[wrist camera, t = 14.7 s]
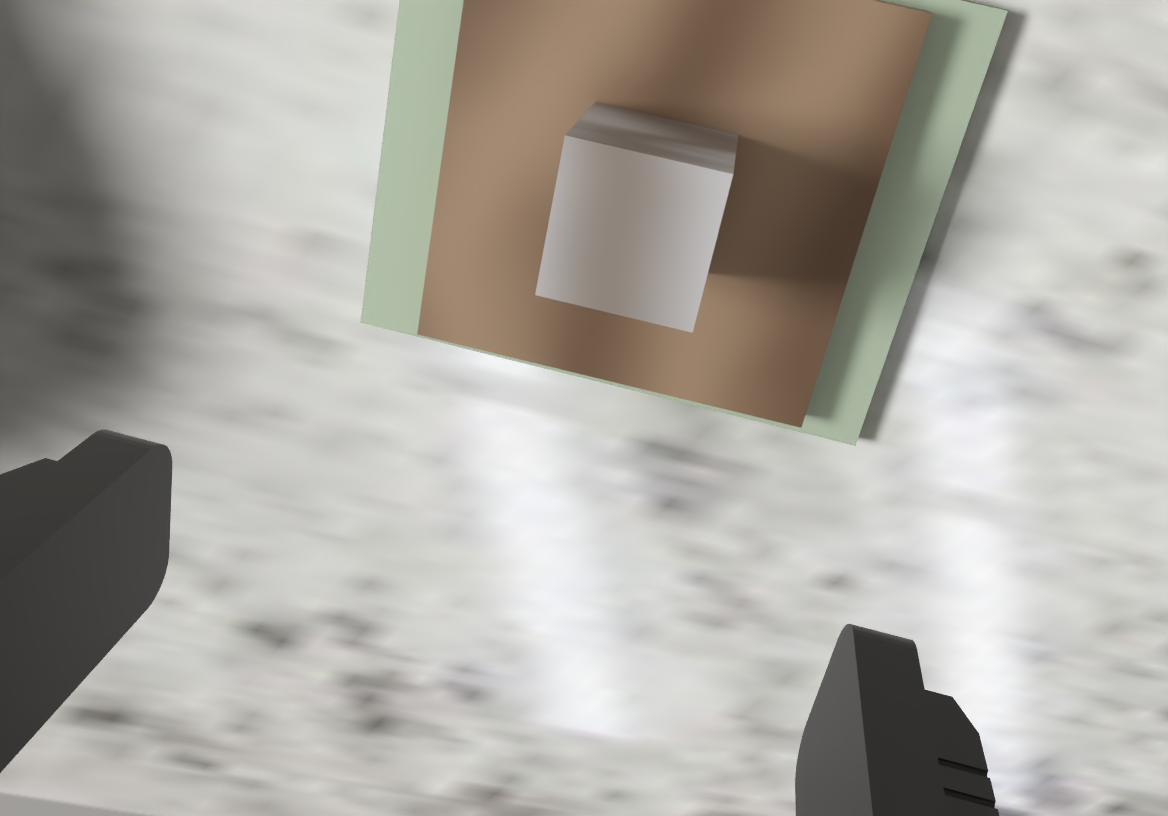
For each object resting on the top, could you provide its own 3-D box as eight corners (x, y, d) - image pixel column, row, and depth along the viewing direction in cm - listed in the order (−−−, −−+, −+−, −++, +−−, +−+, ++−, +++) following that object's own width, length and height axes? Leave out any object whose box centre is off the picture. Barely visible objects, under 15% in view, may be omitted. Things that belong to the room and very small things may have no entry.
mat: (1003, 9, 29) (1008, 10, 28) (853, 437, 35) (855, 445, 34) (420, -123, 30) (414, -124, 29) (366, 316, 35) (360, 322, 35)
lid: (927, 10, 29) (964, 33, 23) (800, 414, 34) (806, 509, 29) (484, -88, 29) (421, -87, 24) (426, 323, 35) (363, 399, 29)
